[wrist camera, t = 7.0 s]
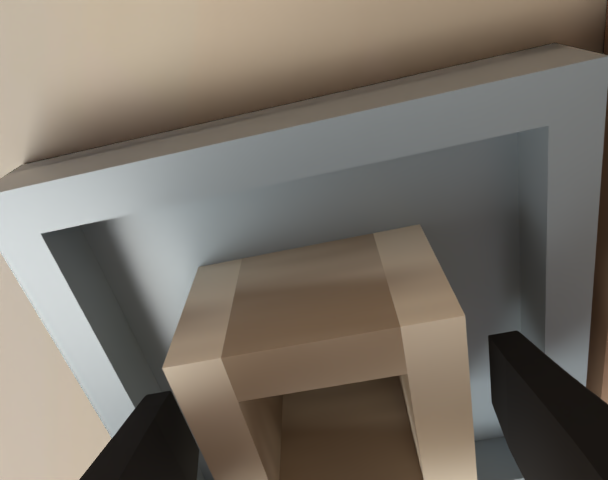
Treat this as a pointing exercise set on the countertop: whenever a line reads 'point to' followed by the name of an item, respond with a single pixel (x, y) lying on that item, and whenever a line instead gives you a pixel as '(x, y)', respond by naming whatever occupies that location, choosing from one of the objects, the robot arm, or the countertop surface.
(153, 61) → the countertop surface
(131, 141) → the tray
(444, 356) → the hollow wooden block
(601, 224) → the stake board
